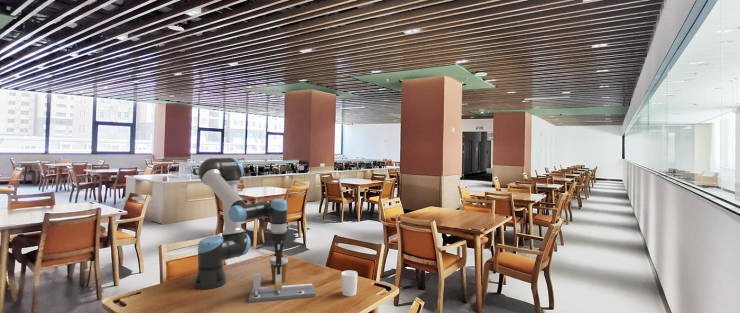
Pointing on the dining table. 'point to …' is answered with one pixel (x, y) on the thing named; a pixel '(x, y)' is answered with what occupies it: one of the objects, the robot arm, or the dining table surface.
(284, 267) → the disposable coffee cup
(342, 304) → the dining table surface
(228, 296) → the dining table surface
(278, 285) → the gold pointer slider
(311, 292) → the gauge plate
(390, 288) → the dining table surface
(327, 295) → the dining table surface
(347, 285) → the white cup
